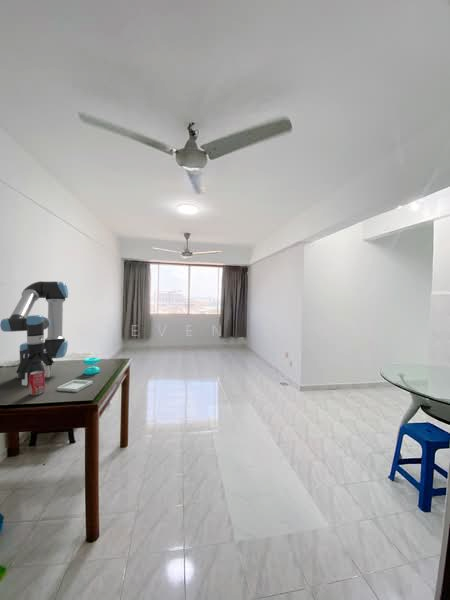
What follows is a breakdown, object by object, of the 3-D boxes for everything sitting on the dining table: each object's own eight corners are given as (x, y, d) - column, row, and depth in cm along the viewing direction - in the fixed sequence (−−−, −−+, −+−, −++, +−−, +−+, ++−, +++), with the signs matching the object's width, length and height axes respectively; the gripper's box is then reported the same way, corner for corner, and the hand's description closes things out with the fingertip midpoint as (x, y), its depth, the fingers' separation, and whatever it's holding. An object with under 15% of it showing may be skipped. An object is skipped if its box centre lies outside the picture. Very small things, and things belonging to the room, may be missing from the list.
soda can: (34, 391, 144) (34, 370, 143) (47, 390, 144) (47, 370, 144) (26, 396, 137) (25, 374, 136) (39, 395, 137) (39, 374, 137)
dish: (56, 390, 144) (56, 387, 144) (74, 382, 157) (74, 379, 157) (76, 392, 142) (76, 389, 142) (92, 383, 155) (92, 381, 155)
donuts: (80, 360, 171) (89, 356, 181) (80, 374, 171) (89, 370, 181) (93, 360, 170) (102, 357, 180) (94, 375, 170) (102, 370, 180)
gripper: (18, 347, 126) (19, 389, 127) (60, 339, 151) (60, 374, 151) (6, 347, 128) (7, 388, 128) (49, 338, 152) (50, 373, 153)
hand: (36, 380), depth 140 cm, fingers open, 13 cm apart
